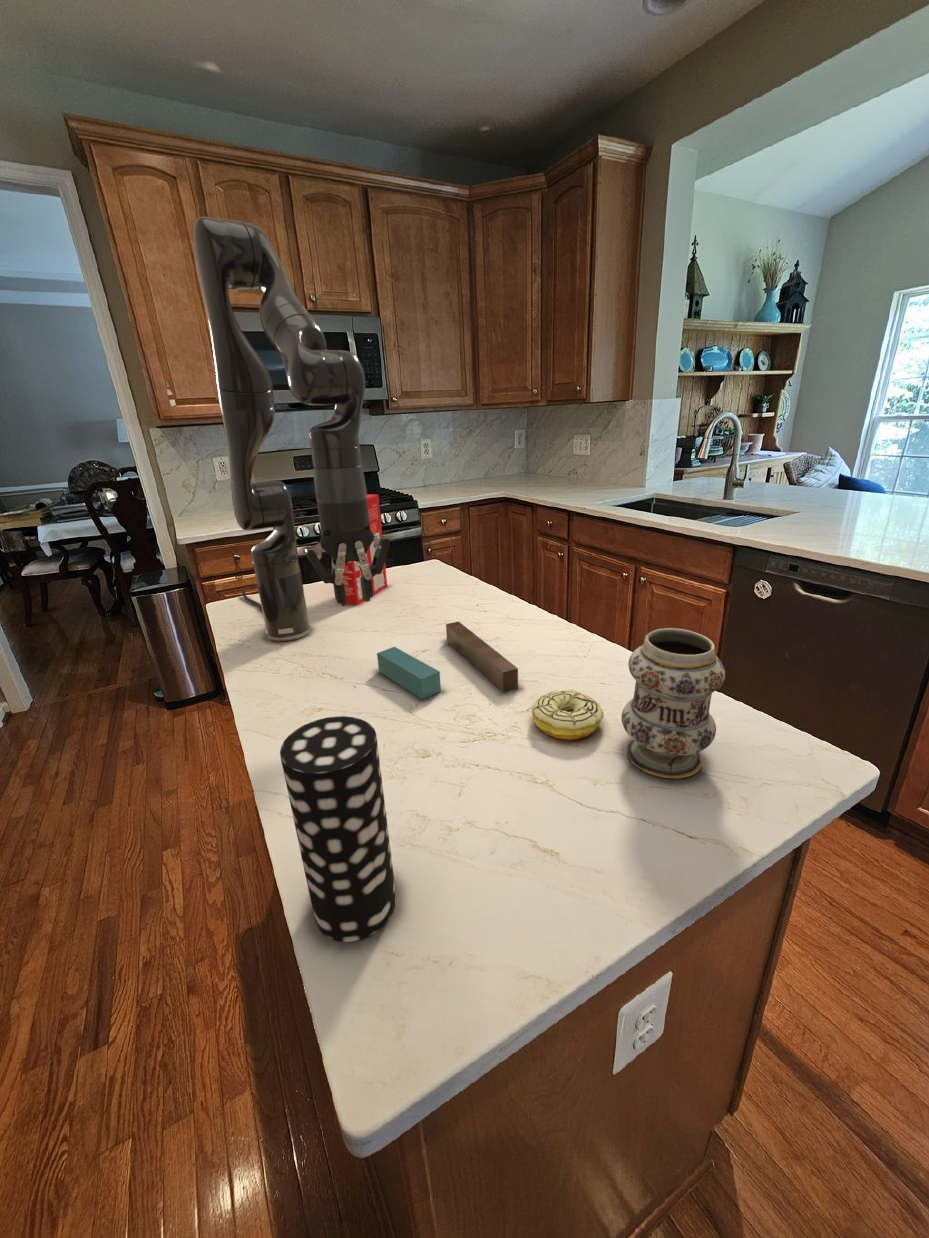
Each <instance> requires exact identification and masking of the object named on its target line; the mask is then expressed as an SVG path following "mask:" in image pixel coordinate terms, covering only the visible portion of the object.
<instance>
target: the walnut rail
mask: <svg viewBox="0 0 929 1238" xmlns="http://www.w3.org/2000/svg"><path fill="white" fill-rule="evenodd" d="M445 632H446V642H447V644H449V645H450V646H451V647H452V648H454V649H455V650H456V651H457V652H458V653H459V654H460V655H461V656H462V657H463V658H465V660H467V662H469V663H470V664H471V665H472V666H473V667H474V668H476V669H477V671H479V672H480V673H481V674H482V675H483V676H484V677H485V678H486V679H488V680H489V681H490V682H491V683H492V684H493V685H494V686H495V687H496V688H498V690H500V691H501V692H502V693H507V692H511V691H513V690H517V689H518V688H519V668H518V667H517V666H516V665H515V664H513V663H512V662H510V660H508V659H507V658H506V657H504V656H503V655H502V654H500V652H498V651H497V650H495V649H494V648H493V647H492V646H490V645H489V644H488V643H487V642H485V641H484V639H482V638H481V637H479V636H478V635H477V634H476V633H474V632H473V631H472V630H471V629H469V628H468V627H466V626H465V625H464V624H462V623H461V621H455V622H449V623H446V624H445Z"/></svg>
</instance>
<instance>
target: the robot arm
mask: <svg viewBox="0 0 929 1238" xmlns="http://www.w3.org/2000/svg"><path fill="white" fill-rule="evenodd" d="M192 242H193V243H192V244H193V251H194V258H195V263H196V268H197V272H198V277H199V282H200V287H201V291H202V296H203V301H204V307H205V310H206V316H207V321H208V325H209V331H210V338H211V344H212V351H213V359H214V366H215V372H216V373H215V375H216V376H215V377H216V384H217V392H218V400H219V405H220V410H221V416H222V422H223V428H224V433H225V438H226V439H225V440H226V445H227V452H228V462H229V476H230V488H231V490H230V491H231V500H232V506H233V507H232V508H233V512H234V517H235V519H236V522H237V524H238V526H239V527H240V529H242V530H243V531H247V532H252V531H259V530H264V529H265V530H266V529H272V528H273V531H272V532H271V534H270V535H269V536H268V537H267V538H265V539H264V540H262V541H261V542H259V543H257V544H256V545H254V546H253V547H252V548H251V550H250V554H251V562H252V565H253V566H252V567H253V572H254V575H255V581H256V586H257V590H258V591H257V592H258V596H259V601H260V603H259V602H258V601H256V600H253V599H251V598H249V597H248V596H247V594H246V590H245V589H241V594H242V597H243V598H244V600H246V601H247V602H249V603H251V604H253V605H255V606H256V607H258V608H260V609H261V611H262V615H263V621H264V626H265V630H266V631H265V633H266V638H267V639H268V640H270V641H273V642H288V641H295V640H297V639H300V638H303V637H305V636H306V635H308V634H309V633H310V632H311V625H310V620H309V614H308V608H307V603H306V602H307V601H306V596H305V590H304V583H303V577H302V571H301V566H300V561H299V560H300V559H299V553H298V541H297V536H296V529H295V528H296V527H295V518H294V517H295V516H294V509H293V501H292V497H291V492H290V491H289V488H288V486H287V485H286V484H285V482H284V481H283V480H278V479H276V480H275V479H274V480H266V481H258V482H257V481H256V482H253V470H254V465H255V463H256V462H255V461H256V459H257V456H258V454H259V452H260V449H261V447H262V446H263V444H264V442H265V441H266V438H267V437H268V435H269V432H270V431H271V428H272V426H273V424H274V421H275V418H276V417H275V416H276V409H275V406H276V405H275V397H274V396H275V395H274V386H273V379H272V376H271V373H270V371H269V370H268V368H267V366H266V364H265V363H264V361H263V360H262V358H261V357H260V356H259V354H258V353H257V351H256V349H255V348H254V347H253V346H252V344H251V342H249V340H248V338H247V337H246V335H245V334H244V331H243V330H242V329H241V327H240V325H239V323H238V321H237V319H236V316H235V312H234V310H233V307H232V303H231V298H230V294H229V290H239V291H261V292H262V293H263V294H262V297H261V301H260V305H259V321H260V324H261V325H260V326H261V327H262V329H263V331H264V333H265V335H266V338H268V340H269V342H270V343H271V344H272V346H273V347H274V348H275V350H276V351H277V353H278V354H279V356H280V359H281V361H282V365H283V368H284V371H285V376H286V380H287V385H288V388H289V391H290V393H291V394H292V396H293V398H295V399H296V400H297V401H298V402H300V403H302V404H304V405H307V406H312V407H313V406H331V405H332V406H335V407H334V411H333V414H332V417H331V418H330V419H329V420H327V421H325V422H321V423H318V424H315V425H313V426H312V427H311V428H310V430H309V434H308V437H309V445H310V452H311V460H312V466H313V484H314V493H315V499H316V507H317V512H318V521H319V528H320V537H319V539H318V542H317V543H315V544H314V545H311V546H306V547H304V549H303V552H304V555H305V556H306V557H307V559H308V561H309V563H310V564H311V566H312V567H313V569H314V570H315V572H316V574H317V575H318V576H319V578H320V580H321V581H322V582H323V583H324V584H332V586H333V593H334V599H335V600H336V602H337V603H338V604H340V605H341V606H342V607H347V606H348V604H347V601H346V593H345V586H344V584H343V583H342V581H343V571H344V566H345V563H347V562H350V561H356V562H357V564H358V567H359V570H360V573H361V575H362V577H361V578H360V580H361V588H362V596H363V599H364V601H363V602H366V603H368V602H371V598H373V596H374V595H373V589H372V578H373V576H375V575H377V574H381V573H382V570H383V567H384V563H385V564H386V560H387V556H388V552H389V549H390V546H391V540H390V539H389V538H387V537H386V536H384V535H382V536H380V537H379V536H375V535H374V534H373V532H372V531H371V529H370V522H369V513H368V503H367V494H368V488H367V486H366V485H367V484H366V479H365V474H364V470H363V465H362V455H361V447H360V438H359V437H360V427H361V418H362V410H363V404H364V398H365V392H366V375H365V370H364V367H363V365H362V363H361V361H360V359H359V358H358V356H356V355H355V353H353V352H351V351H349V350H345V349H327V339H326V336H325V334H324V332H323V330H322V329H321V327H320V325H318V323H317V322H316V320H315V319H314V317H313V316H312V315H311V313H310V312H309V311H308V310H307V309H306V307H305V306H304V304H303V303H302V301H300V299H299V297H298V296H297V293H296V292H295V290H294V288H293V286H292V283H291V281H290V279H289V277H288V275H287V272H286V270H285V269H284V266H283V264H282V262H281V260H280V259H279V256H278V254H277V251H276V250H275V248H274V246H273V244H272V242H271V240H270V238H269V237H268V235H267V234H266V232H265V231H264V230H263V229H262V228H260V227H259V226H258V225H256V224H254V223H251V222H247V221H243V220H242V221H241V220H235V219H228V218H219V217H213V216H212V217H211V216H200V217H197V218H196V219H195V221H194V223H193V229H192ZM372 542H374V548H375V549H376V550H375V554H374V557H373V561H372V564H371V566H370V567H369V563H368V560H367V557H366V553H367V551H368V549H369V548H370V546H371V544H372ZM323 550H324V551H325V552H326V553H327V554H328V555H329V556H330V558H331V573H329V572H327V570H326V569H325V567H324V565H323V564H322V562H321V561H320V560H321V559H322V557H323V554H322V551H323Z"/></svg>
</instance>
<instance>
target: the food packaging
mask: <svg viewBox="0 0 929 1238" xmlns="http://www.w3.org/2000/svg"><path fill="white" fill-rule="evenodd" d="M367 503H368V513H369V522H370V529H371V531H372V532H373V534H374V535H375V536H379V537H380V536H383V529H382V519H381V509H380V499H379V494H371V493H370V494H368V493H367ZM375 550H376V549H375V548H374V542H372V544H371V546H370V548H369V549H368V551H367V553H366V557H367V560H368V563H369V567H370V566H371V564H372V561H373V557H374V554H375ZM386 568H387V567H386V562H385V563H384V567H383V570H382V573H381V574H377V575H375V576H373V578H372V589H373V596H374V595H377V594H378V593H379V592H381V591H382V590H384V589H386V588H387V587H388V579H387V578H388V577H387V569H386ZM361 577H362V575H361V573H360V570H359V567H358V564H357V562H356V561H350V562H347V563H345V566H344V571H343V581H342V583H343V584H344V586H345V593H346V601H347V605H352V606H353V605H354V606H358V605H360V604H361V603H363V602H365V601H364V599H363V596H362V588H361V580H360V578H361Z"/></svg>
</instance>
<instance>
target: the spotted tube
mask: <svg viewBox="0 0 929 1238" xmlns="http://www.w3.org/2000/svg"><path fill="white" fill-rule="evenodd" d="M379 753H380V752H379V745H378V737H377V732H376V730H375V728H374V727H373V725H372V724H371V723H369V722H368V721H366V720H364V719H362V718H358V717H353V716H346V715H344V716H343V715H341V716H339V715H337V716H329V717H324V718H319V719H315V720H313V721H310V722H308V723H306V724H303V725H301V726H300V727H298V728H297V729H295V730H294V731H292V732H291V733H290V734H288V736H287V737H286V738H285V739H284V741H282V744H281V746H280V750H279V756H280V762H281V766H282V771H283V775H284V780H285V781H284V782H285V785H286V790H287V795H288V799H289V804H290V808H291V814H292V818H293V819H292V820H293V822H294V829H295V834H296V837H297V842H298V847H299V852H300V856H301V857H300V858H301V860H302V861H301V862H302V866H303V870H304V875H305V881H306V885H307V890H308V895H309V899H310V903H311V909H312V914H313V917H314V922H315V925H316V927H317V929H318V931H320V932H321V934H323V936H325V937H327V938H329V939H331V940H333V941H335V942H340V943H352V942H356V941H362V940H364V939H366V938H369V937H371V936H372V935H374V934H376V933H377V932H379V931H380V930H381V929H382V928H384V926H385V925H386V924H387V923H388V922H389V920H390V919H391V917H392V916H393V914H394V911H395V908H396V906H397V905H396V904H397V892H396V882H395V874H394V867H393V859H392V851H391V843H390V834H389V826H388V819H387V818H388V817H387V809H386V801H385V794H384V785H383V778H382V770H381V761H380V754H379Z"/></svg>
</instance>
